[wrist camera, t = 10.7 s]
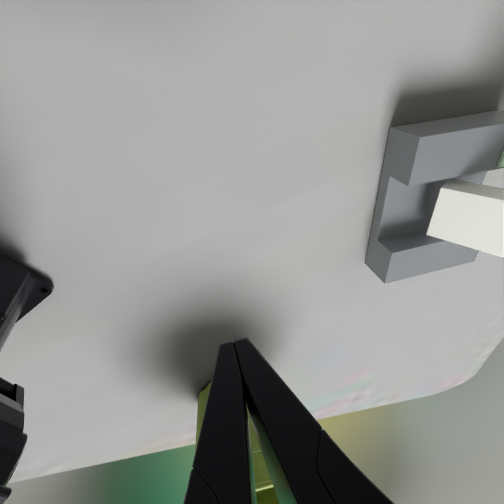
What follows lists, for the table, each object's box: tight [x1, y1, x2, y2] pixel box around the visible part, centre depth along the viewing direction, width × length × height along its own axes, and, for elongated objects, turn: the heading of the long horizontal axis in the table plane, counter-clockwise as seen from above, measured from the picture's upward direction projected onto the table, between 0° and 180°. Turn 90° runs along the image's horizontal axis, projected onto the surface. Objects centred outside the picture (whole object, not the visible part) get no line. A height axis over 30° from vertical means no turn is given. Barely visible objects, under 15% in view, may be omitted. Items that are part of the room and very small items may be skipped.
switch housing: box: [365, 110, 504, 283], centre depth 23 cm, size 9×12×3 cm
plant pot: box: [195, 382, 279, 504], centre depth 29 cm, size 12×12×11 cm
